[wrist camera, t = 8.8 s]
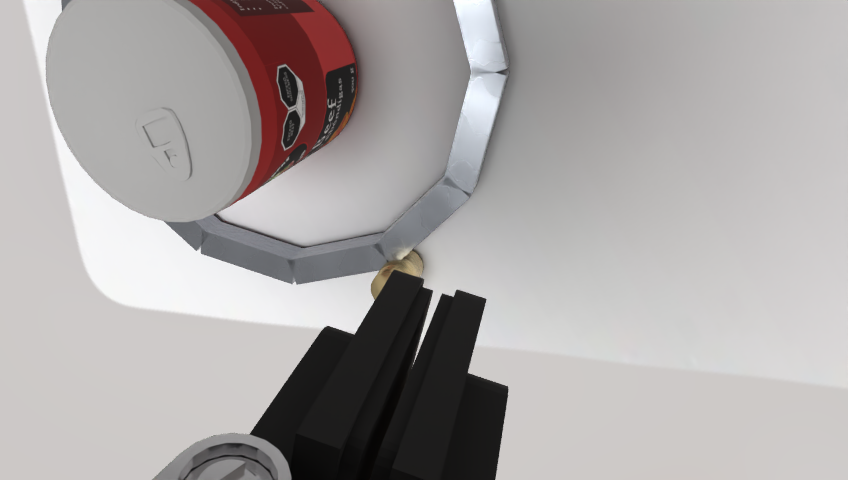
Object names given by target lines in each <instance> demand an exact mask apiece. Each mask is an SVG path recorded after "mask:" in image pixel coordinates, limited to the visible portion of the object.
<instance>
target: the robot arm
mask: <svg viewBox="0 0 848 480" xmlns="http://www.w3.org/2000/svg"><path fill="white" fill-rule="evenodd" d="M423 283H424V279H423V278H420V277H417V276H413V275H410V274H407V273H404V272H401V271H398V270H393V271H392V273H391V275H390V276H389V278H388V280H387V281H386V283H385V285H384V286H383V288H382V290H381V291H380V293H379V295H378V296H377V298H376V300H375V301H374V303H373V305H372V306H371V308H370V310H369V311H368V313H367V315H366V316H365V318H364V320H363V322H362V323H361V325H360V327H359V328H358V330H357V332H356V333H355V335H353V334H351V333H348V332H345V331H342V330H339V329H336V328H333V327H330V326H327V327H325V328H324V329H323V330H322V331H321V332H320V334H319V335H318V337H317V338H316V339H315V341H314V342H313V344H312V345H311V347H310V348H309V350H308V351H307V353H306V354H305V355H304V357H303V358H302V360H301V361H300V363H299V364H298V365H297V367H296V368H295V370H294V371H293V372H292V374H291V375H290V377H289V378H288V380H287V381H286V383H285V384H284V385H283V387H282V388H281V390H280V391H279V393H278V394H277V396H276V397H275V398H274V400H273V401H272V403H271V404H270V406H269V407H268V408H267V410H266V411H265V413H264V414H263V416H262V417H261V419H260V420H259V421H258V423H257V424H256V426H255V427H254V429H253V430H252V431H251V433H250V434H238V433H228V434H221V435H214V436H211V437H209V438H206V439H203V440H201V441H198V442H196V443H194V444H193V445H191V446H190V447H189V448H187V449H186V450H184V451H183V452H182V453H180V454H179V455H178V456H177V457H176V458H175V459H174V460H173V461H172V462H170V463H169V464H168V466H166V467H165V468H164V469H163V470H162V471H161V472H160V473H159V474H158V475H157V476H156V477H155V478H153V480H495V477H496V471H497V464H498V458H499V451H500V444H501V438H502V431H503V424H504V418H505V411H506V404H507V398H508V386H505V385H502V384H499V383H496V382H493V381H490V380H487V379H484V378H481V377H478V376H475V375H472V374H469V373H468V369H469V365H470V361H471V357H472V353H473V349H474V346H475V342H476V338H477V334H478V330H479V326H480V322H481V319H482V315H483V311H484V307H485V303H486V299H485V298H482V297H479V296H476V295H473V294H469V293H466V292H463V291H460V290H456V292H455V295H454V297H452V296H449V295H445V294H442V295H441V298H440V300H439V303H438V305H437V308H436V310H435V313H434V315H433V317H432V320H431V322H430V325H429V327H428V330H427V332H426V335H425V337H424V340H423V342H422V345H421V347H420V350H419V353H418V355H417V358H416V360H415V362H414V359H415V355H416V351H417V348H418V344H419V341H420V337H421V334H422V330H423V326H424V323H425V319H426V316H427V312H428V308H429V305H430V301H431V297H432V293H433V290H430V289H427V288H424V287H423ZM413 363H414V365H413ZM412 366H413V367H412Z"/></svg>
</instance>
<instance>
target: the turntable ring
mask: <svg viewBox="0 0 848 480" xmlns="http://www.w3.org/2000/svg"><path fill="white" fill-rule="evenodd" d="M71 1H72V0H62V11H63V10H64V8H65V7H66V6H67V4H68V3H69V2H71ZM453 1H454V5H455V9H456V13H457V17H458V21H459V25H460V29H461V33H462V37H463V41H464V45H465V49H466V53H467V57H468V61H469V65H470V68H471V76H470V80H469V84H468V88H467V91H466V95H465V99H464V103H463V107H462V110H461V114H460V118H459V122H458V126H457V130H456V133H455V137H454V141H453V145H452V149H451V153H450V156H449V160H448V164H447V168H446V172H445V175H444V176H443V177H442V178H441V179H440V180H439V181H438V182H437V183H436V184H435V185H434V186H432V187H431V188H430V189H429V190H428V191H427V192H426V193H425V194H424V195H423V196H422V197H421V198H420V199H419V200H418V201H417V202H416V203H415V204H414V205H413V206H412V207H410V208H409V209H408V210H407V211H406V212H405V213H404V214H403V215H402V216H401V217H400V218H399V219H398V220H397V221H396V222H395V223H394V224H393V225H392V226H391V227H390V228H388V229H387V230H386V231H385V232H384V233H378V234H373V235H368V236H363V237H358V238H353V239H348V240H343V241H338V242H333V243H328V244H322V245H317V246H312V247H307V248H300V247H297V246H294V245H291V244H288V243H285V242H282V241H279V240H276V239H272V238H269V237H266V236H263V235H260V234H257V233H254V232H251V231H248V230H245V229H242V228H239V227H236V226H233V225H230V224H226V223H223V222H221V221H220V220H219V219H218V218H217V217H215V216H214V215H209V216H207V217H205V218H203V219H199V220H194V221H189V222H167V221H164V222H165V223H166V224H167V225H169V226H170V227H171V228H172V229H173V230H174V231H175V232H176V233H177V234H178V235H179V236H181V237H182V238H183V239H184V240H185V241H186V242H187V243H188V244H189V245H190V246H192V247H193V248H194V249H195V250H196V251H197V250H199V249H200V248H201V254H204V255H207V256H210V257H213V258H216V259H219V260H222V261H225V262H228V263H231V264H234V265H237V266H240V267H243V268H246V269H249V270H251V271H254V272H257V273H260V274H263V275H266V276H269V277H272V278H275V279H278V280H281V281H284V282H287V283H290V284H293V283H294V282H295V281H296V284H303V283H309V282H314V281H320V280H326V279H332V278H337V277H343V276H349V275H355V274H360V273H366V272H372V271H378V270H380V271H379V272H378V274H377V275H376V277H375V278H374V280H373V281H372V284H371V293H372V295H373V297H374V299H375V300H376V298H377V296H378V295H379V293H380V291H381V290H382V288H383V286H384V285H385V283H386V281H387V280H388V278H389V276H390V275H391V273H392V271H393V270H398V271H401V272H404V273H407V274H410V275H413V276H417V277H420V276H421V274H422V271H423V263H422V260H421V258H420V257H419V255H418V254H417V253H415V252H414V251H412V249H413V248H415V247H416V246H417V245H418V244H419V243H420V242H421V241H422V240H423V239H425V238H426V237H427V236H428V235H429V234H430V233H431V232H432V231H433V230H435V229H436V228H437V227H438V226H439V225H440V224H441V223H442V222H443V221H444V220H446V219H447V218H448V217H449V216H450V215H451V214H452V213H453V212H454V211H456V210H457V209H458V208H459V207H460V206H461V205H462V204H463V203H464V202H466V201H467V200H468V199H469V198H470V196H471V194H472V193H473V191H474V189H475V187H476V184H477V182H478V178H479V175H480V171H481V168H482V164H483V161H484V157H485V154H486V151H487V147H488V144H489V140H490V137H491V133H492V130H493V126H494V123H495V120H496V116H497V113H498V109H499V106H500V102H501V99H502V95H503V92H504V89H505V85H506V82H507V78H508V75H509V71H507V70H504V69H507V68H508V66H509V65H510V64H509V59H508V55H507V51H506V46H505V42H504V37H503V33H502V29H501V24H500V20H499V16H498V11H497V7H496V3H495V0H453Z"/></svg>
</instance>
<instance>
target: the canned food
mask: <svg viewBox="0 0 848 480" xmlns="http://www.w3.org/2000/svg"><path fill="white" fill-rule="evenodd" d="M46 83H47V88H48V94H49V99H50V104H51V107H52V110H53V113H54V116H55V119H56V122H57V125H58V127H59V129H60V131H61V133H62V135H63V137H64V139H65V141H66V143H67V145H68V147H69V149H70V150H71V152H72V153H73V155H74V156H75V158H76V159H77V161H78V162H79V164H80V165H81V167H82V168H83V169H84V170H85V171H86V172H87V173H88V175H89V176H90V177H91V178H92V179H93V180H94V181H95V183H96V184H98V185H99V186H100V187H101V188H102V189H103V190H104V191H106V192H107V193H108V194H109V195H110V196H111V197H113V198H114V199H115V200H117V201H119V202H120V203H122V204H123V205H125V206H126V207H128V208H129V209H131V210H133V211H136V212H138V213H140V214H143V215H145V216H147V217H150V218H154V219H158V220H162V221H167V222H189V221H194V220H199V219H203V218H205V217H207V216H209V215H213V214H215V213H217V212H219V211H221V210H223V209H225V208H227V207H229V206H231V205H232V204H234V203H235V202H237V201H239V200H241V199H243V198H244V197H246V196H248V195H249V194H251V193H252V192H254V191H255V190H257V189H258V188H260V187H261V186H263V185H265V184H266V183H268V182H269V181H271V180H272V179H274V178H275V177H277V176H278V175H280V174H282V173H283V172H285V171H286V170H288V169H289V168H291V167H292V166H294V165H295V164H297V163H299V162H300V161H302V160H303V159H305V158H306V157H308V156H309V155H311V154H312V153H314V152H316V151H317V150H319V149H320V148H322V147H323V146H325V145H326V144H328V143H329V142H330V141H332V140H333V139H334V138H335V137H336V136H337V135H339V133H340V132H341V131H342V129H343V128H344V127H345V125H346V124H347V122H348V120H349V117H350V115H351V113H352V111H353V107H354V103H355V99H356V95H357V88H358V72H357V64H356V59H355V56H354V52H353V49H352V46H351V43H350V41H349V39H348V37H347V35H346V33H345V31H344V30H343V28H342V27H341V26H340V24H339V23H338V22H337V20H336V19H335V17H334V16H333V15H332V14H330V13H329V12H328V11H327V10H326V9H325V8H324V7H323V6H322V5H321V4H320V3H319V2H318V1H316V0H72V1H71V2H69V3H68V4H67V6H66V7H65V8H64V10H63V11H62V13H61V14H60V15H59V17H58V18H57V20H56V22H55V25H54V27H53V30H52V32H51V35H50V37H49V42H48V48H47V54H46Z"/></svg>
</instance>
